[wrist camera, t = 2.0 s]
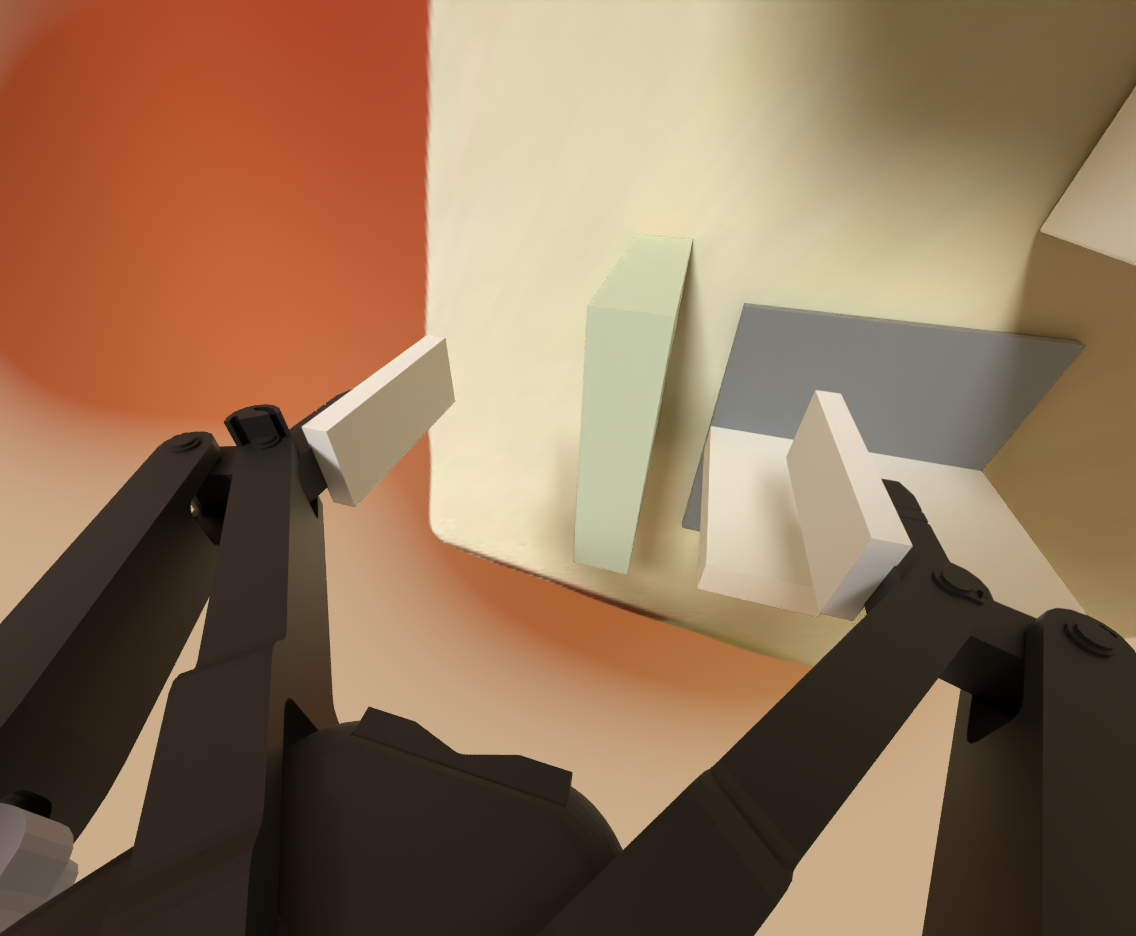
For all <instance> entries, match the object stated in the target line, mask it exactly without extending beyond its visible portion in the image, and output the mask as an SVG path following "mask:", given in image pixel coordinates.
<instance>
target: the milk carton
mask: <svg viewBox="0 0 1136 936" xmlns="http://www.w3.org/2000/svg"><path fill="white" fill-rule="evenodd" d="M1040 231H1041V232H1043V233H1046V234H1049V235H1051V236H1054V237H1057V238H1060V239H1062V240H1065V241H1068V242H1071V243H1073V244H1076V245H1079V246H1082V247H1085V248H1087V249H1090V250H1093V251H1096V252H1098V253H1101V254H1104V255H1107V256H1109V257H1112V258H1115V259H1118V260H1120V261H1123V262H1126V263H1129V264H1132V265H1134V266H1136V87H1135V88H1134V90H1133V91H1132V93H1131V94H1130V96H1129V97H1128V99H1127V100H1126V102H1125V103H1124V105H1123V106H1122V108H1121V109H1120V111H1119V112H1118V114H1117V115H1116V117H1115V118H1114V120H1113V121H1112V123H1111V124H1110V125H1109V127H1108V128H1107V130H1106V131H1105V133H1104V134H1103V136H1102V137H1101V139H1100V140H1099V142H1098V143H1097V145H1096V146H1095V148H1094V149H1093V151H1092V152H1091V154H1090V155H1089V157H1088V158H1087V160H1086V161H1085V163H1084V164H1083V166H1082V167H1081V169H1080V170H1079V172H1078V173H1077V175H1076V176H1075V178H1074V179H1073V181H1072V182H1071V184H1070V185H1069V187H1068V188H1067V190H1066V191H1065V193H1064V194H1063V196H1062V197H1061V199H1060V200H1059V202H1058V203H1057V205H1056V206H1055V208H1054V209H1053V211H1052V212H1051V214H1050V215H1049V217H1048V218H1047V220H1046V221H1045V223H1044V224H1043V226H1042V227H1041V229H1040Z"/></svg>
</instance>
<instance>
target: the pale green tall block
mask: <svg viewBox="0 0 1136 936" xmlns="http://www.w3.org/2000/svg"><path fill="white" fill-rule="evenodd" d="M692 241H693V239H684V238H673V237H661V236H650V235H637V236H636V237H635V239H634V240H633V242H632V243H631V244H630V246H629V247H628V249H627V250H626V252H625V253H624V254H623V256H622V257H621V259H620V260H619V261H618V263H617V264H616V266H615V267H614V269H613V270H612V271H611V273H610V274H609V276H608V277H607V278H606V280H605V281H604V283H603V284H602V286H601V287H600V288H599V290H598V291H597V293H596V294H595V295H594V297H593V298H592V300H591V301H590V303H589V304H588V305H587V322H586V340H585V359H584V377H583V395H582V413H581V432H580V450H579V468H578V486H577V505H576V523H575V541H574V559H573V562H575V563H580V564H584V565H588V566H592V567H597V568H601V569H605V570H609V571H613V572H618V573H622V574H626V575H627V573H628V568H629V564H630V559H631V554H632V549H633V544H634V539H635V534H636V529H637V524H638V520H639V515H640V510H641V505H642V500H643V495H644V490H645V485H646V480H647V476H648V471H649V466H650V461H651V456H652V451H653V446H654V441H655V436H656V430H657V425H658V420H659V415H660V409H661V404H662V399H663V394H664V388H665V385H664V383H665V378H666V373H667V368H668V364H669V359H670V354H671V350H672V345H673V340H674V335H675V330H676V325H677V320H678V315H679V309H680V304H681V299H682V294H683V288H684V283H685V278H686V273H687V267H688V262H689V257H690V252H691V246H692Z"/></svg>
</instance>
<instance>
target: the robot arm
mask: <svg viewBox="0 0 1136 936" xmlns="http://www.w3.org/2000/svg"><path fill="white" fill-rule="evenodd" d="M454 402H455V398H454V392H453V385H452V378H451V372H450V365H449V359H448V352H447V346H446V339H445V338H443V337H436V336H429V335H427V336H425V337H424V338H423V339H421V340H420V341H418V342H417V343H416V344H414V345H413V346H412V347H410V348H409V349H407V350H406V351H405V352H403V353H402V354H401V355H399V356H398V357H396V358H395V359H394V360H392V361H391V362H390V363H388V364H387V365H385V366H384V367H383V368H381V369H380V370H379V371H377V372H376V373H375V374H373V375H372V376H370V377H369V378H368V379H366V380H365V381H364V382H362V383H361V384H359V385H358V386H357V387H355V388H354V389H351V390H349V391H346V392H344V393H342V394H339V395H337V396H335V397H334V398H333V399H331V400H330V401H328V402H327V403H326V405H323V406H322V407H320V408H319V409H317V412H316V411H314V412H313V413H312V414H310V415H309V416H307V417H306V418H305V419H303V420H302V421H300V422H299V423H298V424H296V425H295V426H293V427H292V428H291V429H288V426H287V424H286V422H285V420H284V418H283V415H282V413H281V411H280V409H279V408H278V407H276V406H274V405H265V404H264V405H254V406H250V407H246V408H243V409H241V410H238V411H236V412H234V413H232V414H231V415H229V416H228V417H227V418H226V420H225V421H224V424H225V425H226V427H227V429H228V431H229V433H230V435H231V436H232V438H233V440H234V442H235V443H236V445H237V446H224V447H219V445H218V444H217V442H216V440H215V439H214V437H213V435H212V434H210V433H208V432H190V433H183V434H181V435H176V436H174V437H173V438H171V439H169V440H167V441H165V442H164V443H162V444H161V445H160V446H159V447H157V449H156V450H155V451H154V452H153V453H152V454H151V455H150V456H149V458H148V459H147V460H146V461H145V462H144V463H143V464H142V465H141V467H140V468H139V469H138V470H137V471H136V472H135V473H134V474H133V476H132V477H131V478H130V479H129V480H128V481H127V482H126V483H125V484H124V486H123V487H122V488H121V489H120V490H119V491H118V492H117V493H116V495H115V496H114V497H113V498H112V499H111V500H110V501H109V503H108V504H107V505H106V506H105V507H104V508H103V509H102V510H101V511H100V513H99V514H98V515H97V516H96V517H95V518H94V519H93V520H92V521H91V523H90V524H89V525H88V526H87V527H86V528H85V529H84V531H83V532H82V533H81V534H80V535H79V536H78V537H77V538H76V539H75V541H74V542H73V543H72V544H71V545H70V546H69V547H68V548H67V550H66V551H65V552H64V553H63V554H62V555H61V556H60V557H59V559H58V560H57V561H56V562H55V563H54V564H53V565H52V566H51V568H50V569H49V570H48V571H47V572H46V573H45V574H44V575H43V576H42V578H41V579H40V580H39V581H38V582H37V583H36V584H35V585H34V587H33V588H32V589H31V590H30V591H29V592H28V593H27V594H26V596H25V597H24V598H23V599H22V600H21V601H20V602H19V603H18V605H17V606H16V607H15V608H14V609H13V610H12V611H11V612H10V614H9V615H8V616H7V617H6V618H5V619H4V620H3V621H2V623H1V624H0V936H754V935H755V934H756V932H757V931H758V930H759V928H760V927H761V925H762V924H763V923H764V921H765V920H766V919H767V917H768V916H769V915H770V913H771V912H772V911H773V909H774V908H775V907H776V905H777V904H778V902H779V901H780V899H781V898H782V897H783V895H784V894H785V892H786V891H787V889H788V887H789V885H790V883H791V881H792V877H793V871H794V869H795V867H796V866H797V864H798V863H799V861H800V860H801V859H802V857H803V856H804V854H805V853H806V852H807V851H808V849H809V848H810V847H811V845H812V844H813V843H814V841H815V840H816V839H817V837H818V836H819V835H820V833H821V832H822V831H823V830H824V828H825V827H826V825H827V824H828V823H829V821H830V820H831V819H832V818H833V816H834V815H835V814H836V812H837V811H838V809H839V808H840V807H841V806H842V804H843V803H844V802H845V800H846V799H847V798H848V796H849V795H850V794H851V792H852V791H853V790H854V789H855V787H856V786H857V785H858V783H859V782H860V781H861V779H862V778H863V777H864V775H865V774H866V773H867V771H868V770H869V769H870V767H871V766H872V765H873V763H874V762H875V761H876V759H877V758H878V757H879V755H880V754H881V753H882V751H883V750H884V749H885V748H886V746H887V745H888V744H889V742H890V741H891V740H892V738H893V737H894V736H895V734H896V733H897V732H898V730H899V729H900V728H901V726H902V725H903V724H904V722H905V721H906V720H907V719H908V717H909V716H910V715H911V713H912V712H913V710H914V709H915V708H916V707H917V705H918V704H919V703H920V701H921V700H922V699H923V697H924V696H925V695H926V693H927V692H928V691H929V689H930V688H931V687H932V685H933V684H934V683H935V682H936V680H937V679H938V678H940V679H942V680H944V681H946V682H948V683H950V684H952V685H954V686H956V687H958V688H960V689H961V691H960V697H959V703H958V709H957V716H956V722H955V728H954V735H953V741H952V748H951V754H950V761H949V767H948V773H947V780H946V786H945V792H944V799H943V806H942V811H941V818H940V824H939V831H938V837H937V844H936V850H935V856H934V863H933V869H932V876H931V882H930V888H929V895H928V901H927V908H926V914H925V920H924V926H923V927H924V928H923V933H922V936H1136V653H1135V651H1134V649H1133V648H1132V647H1131V646H1130V645H1129V644H1128V643H1127V642H1126V641H1125V640H1124V639H1123V638H1122V637H1121V636H1120V635H1119V634H1117V633H1116V632H1115V631H1114V630H1112V629H1111V628H1109V627H1108V626H1106V625H1105V624H1103V623H1101V622H1099V621H1097V620H1095V619H1093V618H1092V617H1090V616H1088V615H1085V614H1082V613H1079V612H1077V611H1074V610H1071V609H1063V608H1054V609H1051V610H1047V611H1046V612H1045V613H1043V614H1042V615H1041V616H1040V617H1038V618H1035V617H1032V616H1030V615H1027V614H1025V613H1022V612H1020V611H1018V610H1015V609H1013V608H1010V607H1008V606H1005V605H1003V604H1001V603H998V602H996V601H994V600H993V597H992V595H991V593H990V590H989V589H988V588H987V587H986V585H985V584H984V583H983V582H982V581H981V580H980V579H979V578H978V577H976V576H975V575H973V574H972V573H971V572H969V571H968V570H966V569H964V568H962V567H960V566H958V565H956V564H954V563H951V562H950V561H949V559H948V557H947V555H946V553H945V551H944V550H943V548H942V546H941V544H940V542H939V540H938V539H937V537H936V535H935V533H934V531H933V529H932V527H931V526H930V524H928V520H927V518H926V516H925V514H924V513H923V512H921V511H922V509H921V507H920V505H919V503H918V501H917V500H916V498H915V496H914V495H913V494H912V493H911V492H910V491H909V490H908V489H907V488H906V487H904V486H903V485H902V484H901V483H900V482H899V481H893V480H887V479H881V478H880V476H879V473H878V471H877V469H876V467H875V465H874V463H873V461H872V459H871V456H870V454H869V452H868V450H867V448H866V446H865V444H864V442H863V439H862V437H861V435H860V433H859V431H858V429H857V427H856V425H855V422H854V420H853V418H852V416H851V414H850V412H849V410H848V408H847V406H846V403H845V401H844V399H843V397H842V395H841V394H840V393H833V392H826V391H819V390H815V392H814V394H813V397H812V399H811V401H810V403H809V406H808V408H807V410H806V413H805V415H804V417H803V420H802V422H801V424H800V426H799V429H798V431H797V433H796V436H795V438H794V440H793V442H792V445H791V447H790V449H789V452H788V454H787V456H786V460H787V465H788V469H789V474H790V479H791V483H792V488H793V493H794V497H795V502H796V507H797V511H798V516H799V521H800V525H801V530H802V535H803V539H804V544H805V549H806V553H807V558H808V562H809V567H810V572H811V576H812V581H813V586H814V590H815V595H816V600H817V604H818V609H819V613H820V614H825V615H829V616H833V617H838V618H842V619H847V620H851V621H853V620H854V619H855V618H856V617H857V615H858V614H859V613H860V612H861V610H862V609H863V608H864V607H865V610H866V613H867V615H866V616H865V617H864V618H863V619H862V620H861V621H860V622H859V623H858V624H857V625H856V626H855V627H854V628H853V629H852V630H851V631H850V632H849V633H848V634H847V635H846V636H845V637H844V638H843V639H842V640H841V641H840V642H839V643H838V644H837V645H836V646H835V647H834V648H833V649H832V650H830V651H829V652H828V653H827V654H826V655H825V656H824V657H823V658H822V659H821V660H820V661H819V662H818V663H817V664H816V665H815V666H814V667H813V668H812V669H811V670H810V671H809V672H808V673H807V674H806V675H805V676H804V677H803V678H802V679H801V680H800V681H799V682H798V683H797V684H796V685H795V686H794V687H793V688H792V689H791V690H790V691H789V692H788V693H787V694H786V695H785V696H784V697H783V698H782V699H781V700H780V701H779V702H778V703H777V704H776V705H775V706H774V707H773V708H772V709H771V710H770V711H769V712H768V713H767V714H766V715H765V716H764V717H763V718H762V719H761V720H760V721H759V722H758V723H757V724H756V725H755V726H753V727H752V728H751V729H750V730H749V732H747V733H746V735H744V737H742V738H741V739H740V740H739V741H738V742H737V743H736V744H735V745H734V746H733V747H732V748H731V749H730V750H729V751H728V752H727V753H726V754H725V755H724V756H723V757H722V758H721V759H720V760H719V761H718V762H717V763H716V764H715V765H714V766H713V767H711V768H710V769H708V770H706V771H705V772H704V773H702V774H701V775H700V776H699V777H698V778H697V779H695V780H694V781H693V782H692V783H691V784H690V785H689V786H688V787H687V788H686V789H685V790H684V791H683V792H682V793H681V794H680V795H679V796H678V797H677V798H676V799H675V800H674V801H673V802H672V803H671V804H670V805H669V806H668V807H667V808H666V809H665V810H664V811H663V812H662V813H661V814H659V815H658V817H656V818H655V819H654V820H653V821H652V822H651V823H650V824H649V825H648V826H647V827H646V828H645V829H644V830H643V831H642V832H641V833H640V834H639V835H638V836H637V837H636V838H635V839H634V840H633V841H632V842H631V843H630V844H629V845H628V846H627V847H626V848H625V849H624V850H623V849H622V847H621V846H620V843H619V841H618V839H617V837H616V836H615V834H614V832H613V830H612V829H611V827H610V826H609V824H608V823H607V821H606V820H605V818H604V817H603V816H602V814H601V813H600V812H599V811H598V810H597V808H596V807H595V806H594V805H593V804H592V803H591V802H590V801H589V800H588V799H587V798H586V797H585V796H583V795H582V794H581V793H580V792H578V791H577V790H576V789H574V788H573V787H571V781H572V772H570V771H567V770H564V769H561V768H558V767H554V766H551V765H548V764H545V763H542V762H539V761H536V760H533V759H530V758H526V757H523V756H520V755H465V754H459V753H457V752H455V751H454V750H452V749H451V748H450V747H448V746H447V745H446V744H444V743H443V742H442V741H440V740H439V739H438V738H436V737H435V736H434V735H432V734H431V733H430V732H428V731H427V730H426V729H424V728H423V727H422V726H420V725H419V724H418V723H416V722H415V721H412V720H408V719H405V718H403V717H399V716H396V715H393V714H390V713H387V712H384V711H381V710H378V709H375V708H372V707H368V709H367V710H366V712H365V714H364V715H363V717H362V719H361V720H360V721H353V722H345V723H341V724H339V722H338V719H337V717H336V713H335V710H334V705H333V695H332V676H331V658H330V639H329V621H328V603H327V602H328V600H327V581H326V562H325V542H324V524H323V505H322V502H321V500H320V498H319V495H320V493H322V492H323V491H324V490H325V489H326V488H328V490H329V493H330V495H331V497H332V500H333V502H335V503H340V504H343V505H348V506H352V507H356V506H357V505H358V504H359V503H360V502H361V501H362V500H363V499H364V498H365V496H366V495H367V494H368V493H369V492H370V491H371V490H372V489H373V488H374V487H375V486H376V485H377V484H378V483H379V482H380V480H381V479H382V478H383V477H384V476H385V475H386V474H387V473H388V472H389V471H390V470H391V469H392V468H393V467H394V466H395V465H396V464H397V462H398V461H399V460H400V459H401V458H402V457H403V456H404V455H405V454H406V453H407V452H408V451H409V450H410V449H411V448H412V446H413V445H414V444H415V443H416V442H417V441H418V440H419V439H420V438H421V437H422V436H423V435H424V434H425V433H426V432H427V431H428V430H429V428H430V427H431V426H432V425H433V424H434V423H435V422H436V421H437V420H438V419H439V418H440V417H441V416H442V415H443V414H444V413H445V411H446V410H447V409H448V408H449V407H450V406H451V405H452V404H453V403H454ZM191 505H192V507H193V508H194V511H193V512H192V513H191ZM209 596H210V598H209ZM208 598H209V603H208V609H207V613H206V619H205V625H204V630H203V635H202V640H201V645H200V650H199V656H198V661H197V664H196V667H195V668H194V669H193V670H190V671H187V672H185V673H181V674H179V676H178V677H177V678H176V679H175V680H174V681H173V683H172V686H171V689H170V691H169V694H168V699H167V703H166V708H165V712H164V717H163V721H162V725H161V729H160V734H159V738H158V743H157V747H156V752H155V756H154V760H153V765H152V769H151V774H150V778H149V782H148V787H147V791H146V795H145V800H144V804H143V808H142V813H141V817H140V822H139V826H138V831H137V835H136V839H135V843H134V846H133V847H131V848H130V849H128V850H127V851H125V852H124V853H122V854H120V855H119V856H117V857H116V858H114V859H113V860H111V861H110V862H108V863H106V864H105V865H103V866H102V867H100V868H99V869H97V870H95V871H94V872H92V873H91V874H89V875H88V876H86V877H85V878H83V879H81V880H80V881H78V882H77V883H75V884H74V882H75V880H76V877H77V875H78V864H77V863H75V862H74V861H72V860H70V856H71V853H72V850H73V844H74V842H75V841H76V840H77V838H78V837H79V836H80V834H81V833H82V832H83V830H84V829H85V827H86V826H87V824H88V823H89V821H90V820H91V818H92V817H93V815H94V814H95V812H96V811H97V809H98V808H99V806H100V805H101V803H102V801H103V800H104V799H105V797H106V796H107V794H108V792H109V790H110V788H111V787H112V785H113V783H114V781H115V780H116V778H117V776H118V774H119V772H120V771H121V769H122V767H123V765H124V764H125V762H126V760H127V758H128V756H129V753H130V752H131V750H132V748H133V746H134V744H135V742H136V740H137V738H138V736H139V734H140V732H141V730H142V728H143V726H144V724H145V722H146V720H147V718H148V716H149V715H150V712H151V711H152V709H153V706H154V705H155V703H156V701H157V699H158V696H159V695H160V693H161V691H162V689H163V687H164V685H165V683H166V681H167V679H168V677H169V675H170V673H171V671H172V669H173V667H174V665H175V663H176V661H177V659H178V657H179V655H180V653H181V651H182V649H183V647H184V645H185V644H186V642H187V639H188V637H189V636H190V634H191V632H192V629H193V628H194V626H195V624H196V622H197V620H198V618H199V616H200V614H201V612H202V610H203V608H204V606H205V604H206V602H207V600H208Z"/></svg>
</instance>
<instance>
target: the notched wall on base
mask: <svg viewBox="0 0 1136 936" xmlns="http://www.w3.org/2000/svg"><path fill="white" fill-rule="evenodd" d="M1085 346H1086V345H1084V344H1082V343H1081V342H1079V341H1076V340H1067V339H1058V338H1049V337H1040V336H1031V335H1022V334H1014V333H1005V332H996V331H987V330H978V329H969V328H960V327H951V326H942V325H933V324H925V323H916V322H907V321H898V320H889V319H880V318H871V317H862V316H853V315H845V314H836V313H827V312H818V311H809V310H800V309H791V308H782V307H773V306H764V305H756V304H747V303H744V306H743V310H742V313H741V317H740V321H739V324H738V328H737V331H736V335H735V338H734V342H733V345H732V349H731V352H730V356H729V359H728V363H727V367H726V370H725V374H724V377H723V381H722V384H721V388H720V391H719V395H718V398H717V402H716V405H715V409H714V412H713V416H712V420H711V423H710V427H709V430H708V434H707V437H706V441H705V444H704V448H703V451H702V455H701V458H700V462H699V465H698V469H697V473H696V476H695V480H694V483H693V487H692V490H691V494H690V497H689V501H688V504H687V508H686V511H685V515H684V519H683V522H682V527H684V528H688V529H693V530H698V531H700V541H699V561H698V580H697V589H700V590H705V591H709V592H713V593H717V594H721V595H726V596H730V597H734V598H738V599H743V600H747V601H751V602H755V603H760V604H764V605H768V606H772V607H777V608H781V609H785V610H789V611H793V612H798V613H802V614H806V615H810V616H815V617H818V616H819V615H820V613H819V609H818V604H817V600H816V595H815V590H814V586H813V581H812V576H811V572H810V567H809V562H808V558H807V553H806V549H805V544H804V539H803V535H802V530H801V525H800V521H799V516H798V511H797V507H796V502H795V497H794V493H793V488H792V483H791V479H790V474H789V469H788V465H787V460H786V456H787V454H788V452H789V449H790V447H791V445H792V442H793V440H794V438H795V436H796V433H797V431H798V429H799V426H800V424H801V422H802V420H803V417H804V415H805V413H806V410H807V408H808V406H809V403H810V401H811V399H812V397H813V394H814V392H815V390H819V391H826V392H833V393H840V394H841V395H842V397H843V399H844V401H845V403H846V406H847V408H848V410H849V412H850V414H851V416H852V418H853V420H854V422H855V425H856V427H857V429H858V431H859V433H860V435H861V437H862V439H863V442H864V444H865V446H866V448H867V450H868V452H869V454H870V456H871V459H872V461H873V463H874V465H875V467H876V469H877V471H878V473H879V476H880V478H881V479H887V480H893V481H899V482H900V483H901V484H902V485H903V486H904V487H906V488H907V489H908V490H909V491H910V492H911V493H912V494H913V495H914V496H915V498H916V500H917V501H918V503H919V505H920V507H921V509H922V511H921V512H923V513H924V514H925V516H926V518H927V520H928V524H930V526H931V527H932V529H933V531H934V533H935V535H936V537H937V539H938V540H939V542H940V544H941V546H942V548H943V550H944V551H945V553H946V555H947V557H948V559H949V561H950V562H951V563H954V564H956V565H958V566H960V567H962V568H964V569H966V570H968V571H969V572H971V573H972V574H973V575H975V576H976V577H978V578H979V579H980V580H981V581H982V582H983V583H984V584H985V585H986V587H987V588H988V589H989V590H990V593H991V595H992V597H993V600H994V601H996V602H998V603H1001V604H1003V605H1005V606H1008V607H1010V608H1013V609H1015V610H1018V611H1020V612H1022V613H1025V614H1027V615H1030V616H1032V617H1035V618H1038V617H1040V616H1041V615H1042V614H1043V613H1045V612H1046V611H1047V610H1051V609H1054V608H1063V609H1071V610H1074V611H1077V612H1079V613H1082V614H1085V615H1087V614H1086V613H1085V611H1084V610H1083V608H1082V607H1081V606H1080V604H1079V603H1078V602H1077V600H1076V599H1075V598H1074V596H1073V595H1072V594H1071V592H1070V591H1069V589H1068V588H1067V587H1066V585H1065V584H1064V583H1063V581H1062V580H1061V579H1060V577H1059V576H1058V574H1057V573H1056V572H1055V570H1054V569H1053V568H1052V566H1051V565H1050V564H1049V562H1048V561H1047V559H1046V558H1045V557H1044V555H1043V554H1042V553H1041V551H1040V550H1039V549H1038V547H1037V546H1036V544H1035V543H1034V542H1033V540H1032V539H1031V538H1030V536H1029V535H1028V534H1027V532H1026V531H1025V530H1024V528H1023V527H1022V525H1021V524H1020V523H1019V521H1018V520H1017V519H1016V517H1015V516H1014V515H1013V513H1012V512H1011V510H1010V509H1009V508H1008V506H1007V505H1006V504H1005V502H1004V501H1003V500H1002V498H1001V497H1000V495H999V494H998V493H997V491H996V490H995V489H994V487H993V486H992V485H991V483H990V482H989V481H988V479H987V478H986V476H985V475H984V474H983V472H982V470H983V469H984V467H985V466H986V465H987V464H988V463H989V461H990V460H991V459H992V458H993V457H994V455H995V454H996V453H997V452H998V450H999V449H1000V448H1001V447H1002V446H1003V444H1004V443H1005V442H1006V441H1007V440H1008V438H1009V437H1010V436H1011V435H1012V434H1013V432H1014V431H1015V430H1016V429H1017V428H1018V426H1019V425H1020V424H1021V423H1022V422H1023V420H1024V419H1025V418H1026V417H1027V416H1028V414H1029V413H1030V412H1031V411H1032V410H1033V408H1034V407H1035V406H1036V405H1037V404H1038V402H1039V401H1040V400H1041V399H1042V397H1043V396H1044V395H1045V394H1046V393H1047V391H1048V390H1049V389H1050V388H1051V387H1052V385H1053V384H1054V383H1055V382H1056V381H1057V379H1058V378H1059V377H1060V376H1061V375H1062V373H1063V372H1064V371H1065V370H1066V369H1067V367H1068V366H1069V365H1070V364H1071V363H1072V361H1073V360H1074V359H1075V358H1076V357H1077V355H1078V354H1079V353H1080V352H1081V351H1082V349H1083V348H1084V347H1085Z"/></svg>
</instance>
